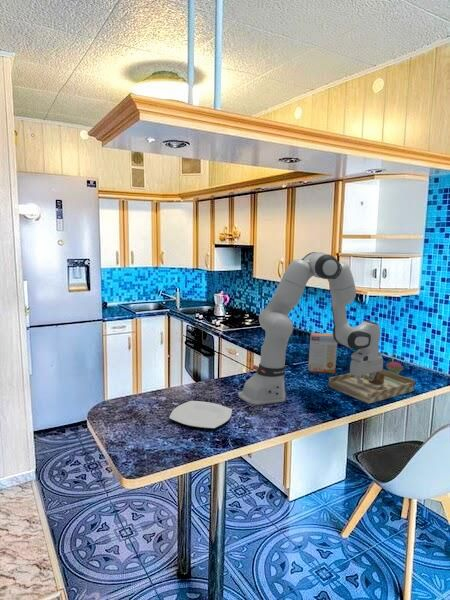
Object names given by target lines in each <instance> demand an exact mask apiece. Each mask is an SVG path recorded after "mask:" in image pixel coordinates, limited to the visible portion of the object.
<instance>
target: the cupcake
mask: <svg viewBox="0 0 450 600" xmlns="http://www.w3.org/2000/svg"><path fill="white" fill-rule="evenodd" d="M385 368H386V369H387V371H389V372H392V373H395V374H398V375H400V372H401V371H403V370H404V367H403V365H402V364H401V363H400V362H398V361H397V362H396V361H394V354H393V353H391V361H389V362H387V363H386V365H385Z"/></svg>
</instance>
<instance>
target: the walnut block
mask: <svg viewBox="0 0 450 600" xmlns="http://www.w3.org/2000/svg"><path fill="white" fill-rule="evenodd" d="M384 375H385V374H384V373H381V372H376V375H375V377H374V381H370V380H369V382H370V383H373V384H375V385H380V384H384ZM370 376H371V373H370V374H369V377H370Z"/></svg>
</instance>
